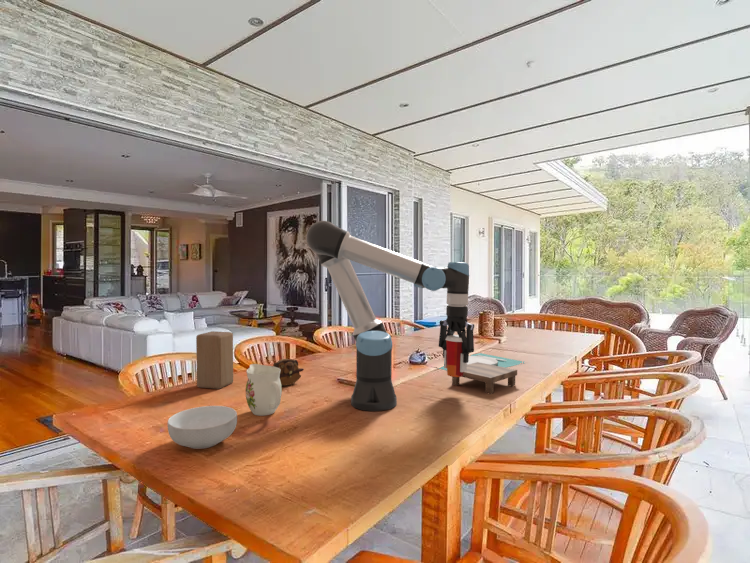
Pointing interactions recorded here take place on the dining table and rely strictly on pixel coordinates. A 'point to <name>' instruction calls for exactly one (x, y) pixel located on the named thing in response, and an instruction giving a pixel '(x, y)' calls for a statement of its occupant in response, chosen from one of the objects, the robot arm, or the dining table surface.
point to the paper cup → (454, 355)
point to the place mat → (491, 360)
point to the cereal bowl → (202, 426)
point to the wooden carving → (288, 371)
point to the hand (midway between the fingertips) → (455, 369)
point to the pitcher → (263, 389)
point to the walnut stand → (487, 375)
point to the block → (214, 359)
